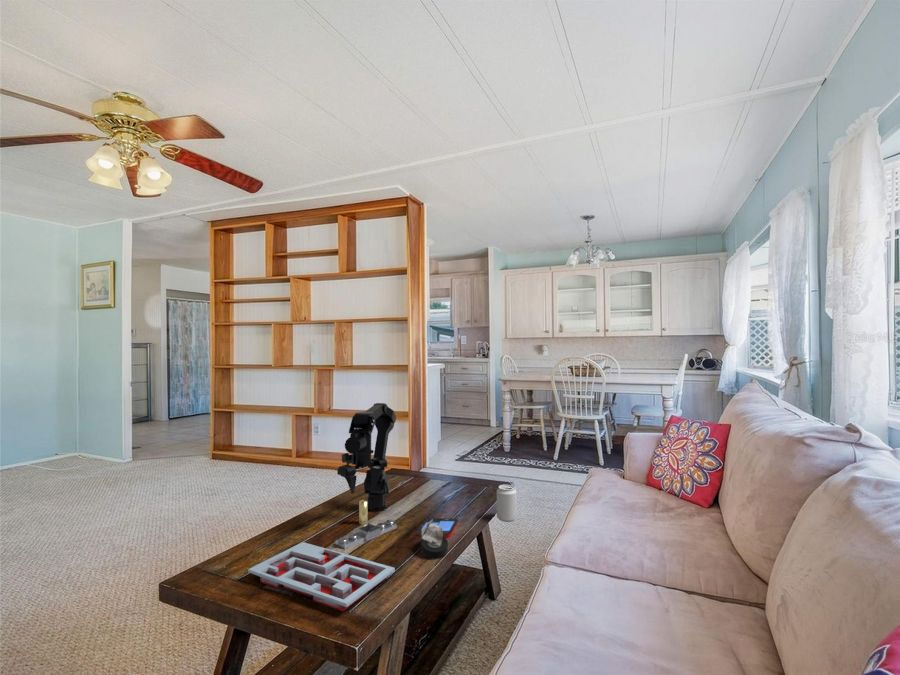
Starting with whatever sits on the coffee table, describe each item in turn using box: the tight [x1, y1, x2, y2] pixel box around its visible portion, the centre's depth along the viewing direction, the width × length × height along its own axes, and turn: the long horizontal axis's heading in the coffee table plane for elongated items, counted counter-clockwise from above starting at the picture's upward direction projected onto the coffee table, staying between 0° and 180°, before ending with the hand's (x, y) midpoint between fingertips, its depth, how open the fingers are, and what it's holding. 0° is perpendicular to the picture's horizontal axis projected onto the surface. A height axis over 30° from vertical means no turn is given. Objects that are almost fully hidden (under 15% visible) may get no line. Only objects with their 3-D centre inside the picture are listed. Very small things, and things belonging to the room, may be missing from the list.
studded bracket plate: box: [335, 519, 398, 550], centre depth 149 cm, size 23×6×2 cm, turn 139°
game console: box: [414, 517, 459, 540], centre depth 155 cm, size 14×13×2 cm
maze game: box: [247, 541, 396, 612], centre depth 121 cm, size 35×20×3 cm, turn 62°
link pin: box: [358, 499, 369, 526], centre depth 161 cm, size 3×3×8 cm
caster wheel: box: [420, 519, 449, 560], centre depth 139 cm, size 7×11×10 cm
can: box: [496, 484, 518, 523], centre depth 165 cm, size 8×8×12 cm
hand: (363, 490), depth 161 cm, fingers open, 9 cm apart
